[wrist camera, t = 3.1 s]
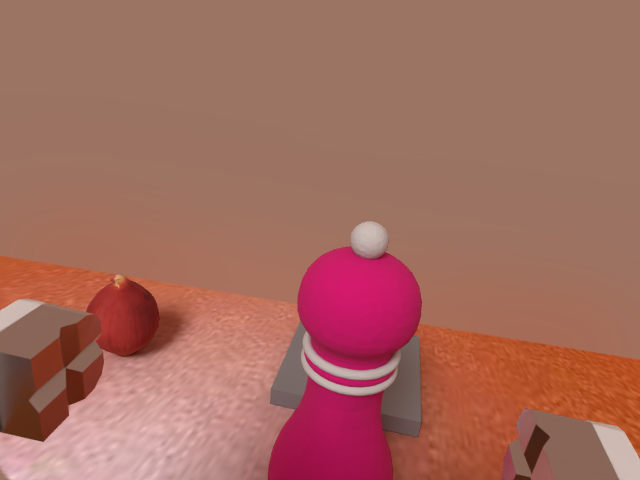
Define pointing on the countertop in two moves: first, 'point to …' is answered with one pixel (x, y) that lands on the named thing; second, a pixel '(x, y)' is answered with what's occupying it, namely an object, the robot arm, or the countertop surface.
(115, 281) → the onion
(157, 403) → the countertop surface
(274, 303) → the countertop surface
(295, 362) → the silver flat square block
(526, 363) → the countertop surface
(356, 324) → the pepper mill
